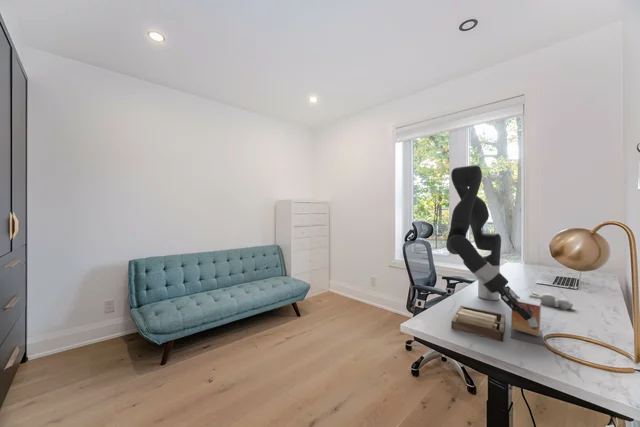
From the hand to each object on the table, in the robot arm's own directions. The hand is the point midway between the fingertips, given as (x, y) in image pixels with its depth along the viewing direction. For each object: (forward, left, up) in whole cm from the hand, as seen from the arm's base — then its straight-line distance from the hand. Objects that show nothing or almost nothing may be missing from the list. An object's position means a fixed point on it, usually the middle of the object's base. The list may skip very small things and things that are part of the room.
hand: (528, 315), depth 95 cm
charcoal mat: (0, -1, -7) cm, 7 cm away
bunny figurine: (-45, +9, -7) cm, 47 cm away
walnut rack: (+1, -15, -7) cm, 17 cm away
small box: (0, -1, -6) cm, 6 cm away
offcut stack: (+6, -16, -7) cm, 18 cm away
